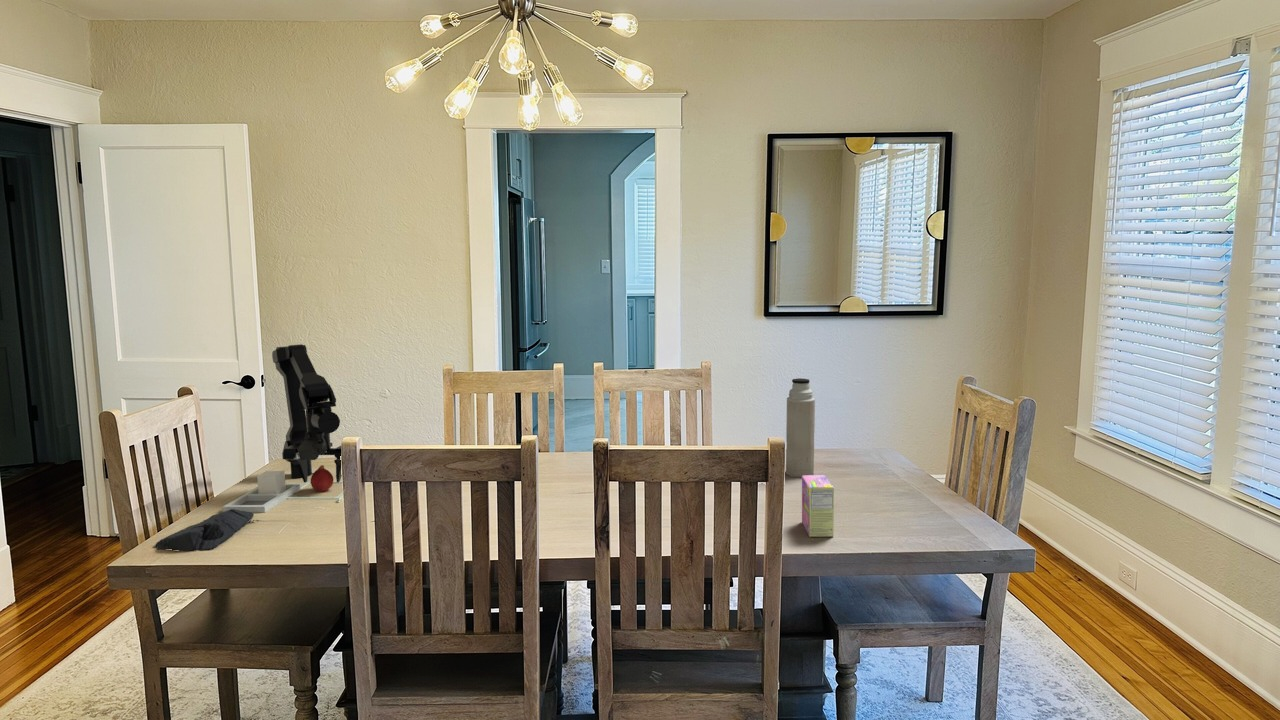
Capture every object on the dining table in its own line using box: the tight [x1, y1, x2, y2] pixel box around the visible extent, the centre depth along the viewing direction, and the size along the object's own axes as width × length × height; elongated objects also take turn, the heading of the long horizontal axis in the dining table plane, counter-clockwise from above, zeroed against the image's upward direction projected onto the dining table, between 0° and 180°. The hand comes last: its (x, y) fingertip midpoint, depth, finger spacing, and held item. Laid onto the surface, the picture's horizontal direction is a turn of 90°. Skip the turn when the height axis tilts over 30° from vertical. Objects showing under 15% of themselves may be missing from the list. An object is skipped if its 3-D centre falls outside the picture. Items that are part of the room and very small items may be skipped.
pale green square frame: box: [285, 480, 344, 503], centre depth 223 cm, size 16×16×1 cm
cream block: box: [256, 470, 286, 494], centre depth 219 cm, size 5×5×6 cm
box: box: [801, 474, 835, 538], centre depth 189 cm, size 10×6×12 cm, turn 178°
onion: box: [310, 464, 335, 493], centre depth 223 cm, size 6×6×8 cm
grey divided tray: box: [221, 483, 302, 514], centre depth 215 cm, size 20×11×2 cm, turn 177°
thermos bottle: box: [785, 378, 816, 478], centre depth 234 cm, size 8×8×28 cm
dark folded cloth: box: [154, 509, 254, 552], centre depth 192 cm, size 15×22×5 cm
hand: (322, 482), depth 223 cm, fingers open, 9 cm apart
